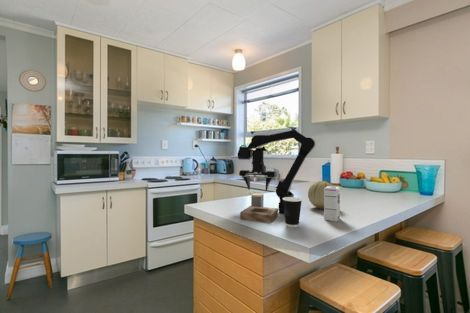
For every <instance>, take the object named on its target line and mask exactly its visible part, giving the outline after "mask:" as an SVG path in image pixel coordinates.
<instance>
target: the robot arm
mask: <svg viewBox="0 0 470 313" xmlns="http://www.w3.org/2000/svg"><path fill="white" fill-rule="evenodd" d="M290 139H291V140H292V139H294V140H295V141H297V142H298V143H300V148H299V151H298V154H297V156H296V158H295V159H294V161H293V163H292V165H291V166H290V169H289V171H288V173H287V174H286V176H285V178H284V179H280V180H279V181H278V184H277V185H276V186H275V194H276V196H277V197H278V198H279V202H278V214H284V203H283V198H285V197H295V195H294V194H293V192H292V191H291V188H292V186H293V185H292V184H293V181H294V179H295V178H296V176H297V175H298V172H299V171H300V169H301V167H302V165H303V164H304V161H305V159H306V158H307V157H308V156H309V155H310V153H311V152H312V151H313V150H314V148H315V147H316V140H315V139H313V138H312V137H306V136H304V135H303V134H302V133H300V132H298V130H295V129H291V130H288V131H283V132H277V133H274V134H273V133H272V134H256V135H253V136H252V137H251V140H250V142H249V144H248V146H239V147H238V148H239V149H238V152H237V159H238V160H239V161H240V160H242V161H243V160H245V161H246V160H247V161H249V160H251V158H252V160H251V161H252V162H251V164H252V169H251V171H250V169H241V170H239V173H238V175H239V177H241V178H243V180H244V183H245V184H246V186H247V189H248V190H251V180H250V179H251V176H267V177H265V191H268V190H269V186H270V183H271V181H272V179H275V178H277V176H278V173H277V170H267V166H266V165H265V161H264V159H265V158H264V156H265V155H264V154H265V153H264V152H267V151H268V149H267V148H266V147H265V146H266V145H269V144H271V143H275V142H279V141H286V140H290Z"/></svg>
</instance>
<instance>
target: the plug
mask: <svg viewBox="0 0 470 313" xmlns="http://www.w3.org/2000/svg"><path fill="white" fill-rule="evenodd" d="M250 198H251V204H250V206H257V207H264V193H256V192H255V193H252V194H251V195H250Z"/></svg>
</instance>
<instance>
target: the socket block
mask: <svg viewBox="0 0 470 313" xmlns="http://www.w3.org/2000/svg"><path fill="white" fill-rule="evenodd" d="M239 213H240V214H239V215H240V217H239V219H240V220H248V221H257V222H266V223H272V222H273V221H274V219H276V218H277V217H278V215H279V207H277V208H275V207H265V206H263V207H257V206H251V205H249V206H248V207H246V208H244V209H243V210H241V211H240V212H239Z"/></svg>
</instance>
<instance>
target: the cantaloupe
mask: <svg viewBox="0 0 470 313" xmlns="http://www.w3.org/2000/svg"><path fill="white" fill-rule="evenodd" d="M327 186H334V185H333V184H332V183H330V182H327V181H326V180H324V179H322V180H321V181H320V180H319V181H316V182H314V183H312V185H310V187H309V188H308V191H307V198H308V200H309V203H311V205H313V206H314V207H315V208H317V209H320V210H322V209H323V210H324V188H326V187H327Z"/></svg>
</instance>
